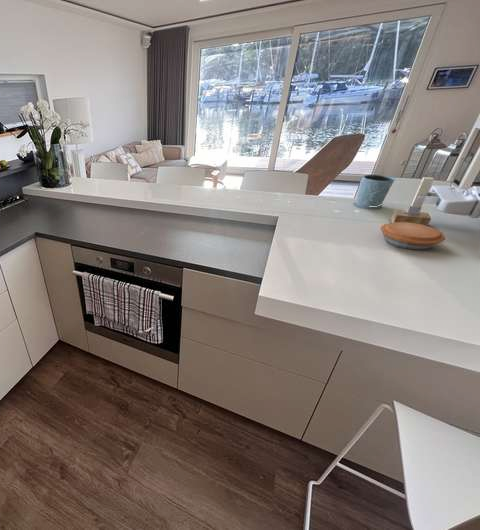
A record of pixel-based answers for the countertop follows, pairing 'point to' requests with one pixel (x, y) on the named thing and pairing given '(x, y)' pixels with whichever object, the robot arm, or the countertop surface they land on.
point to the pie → (411, 235)
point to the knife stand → (411, 217)
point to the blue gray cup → (373, 190)
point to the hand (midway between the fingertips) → (416, 196)
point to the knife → (422, 190)
